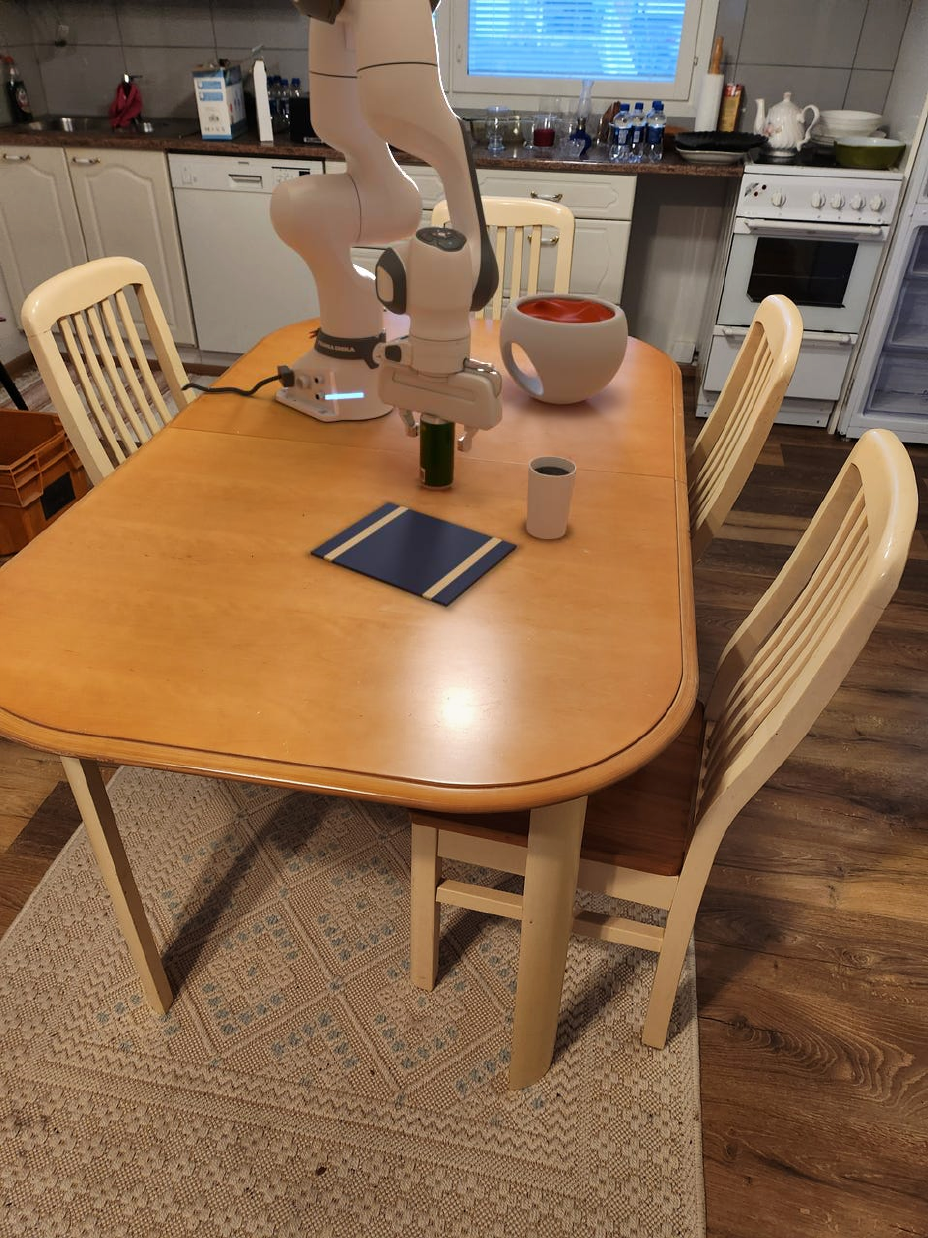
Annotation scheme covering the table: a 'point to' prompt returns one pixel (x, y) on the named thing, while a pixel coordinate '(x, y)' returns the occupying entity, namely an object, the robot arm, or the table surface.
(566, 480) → the white coffee cup
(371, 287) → the robot arm
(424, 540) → the cloth
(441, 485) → the green drink can
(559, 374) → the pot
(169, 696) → the table surface
